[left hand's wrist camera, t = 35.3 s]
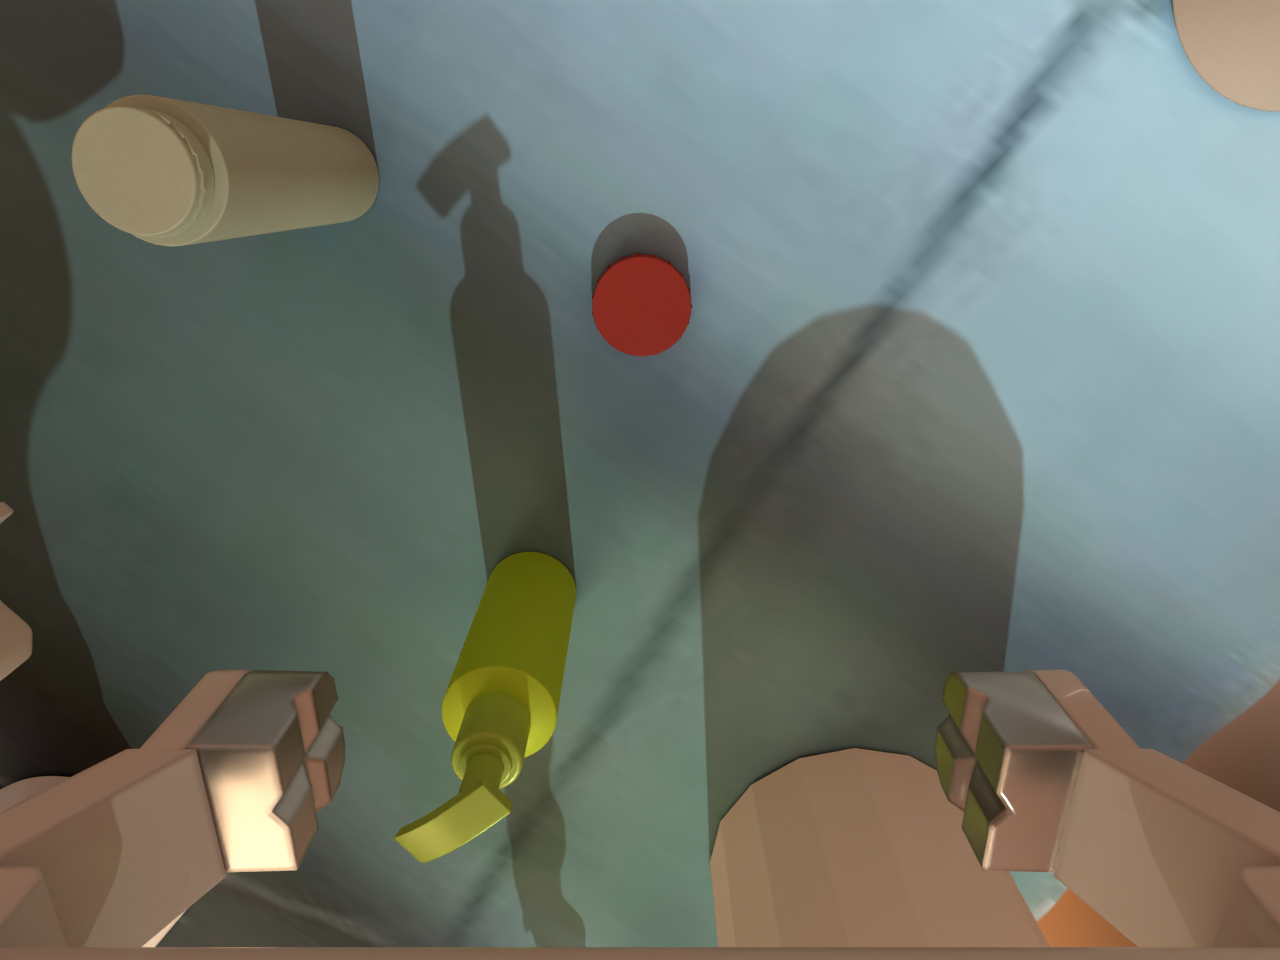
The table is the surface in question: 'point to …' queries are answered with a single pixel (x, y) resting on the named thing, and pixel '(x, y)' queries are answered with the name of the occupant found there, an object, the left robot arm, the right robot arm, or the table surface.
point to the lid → (641, 305)
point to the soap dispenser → (500, 697)
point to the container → (858, 862)
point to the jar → (217, 171)
